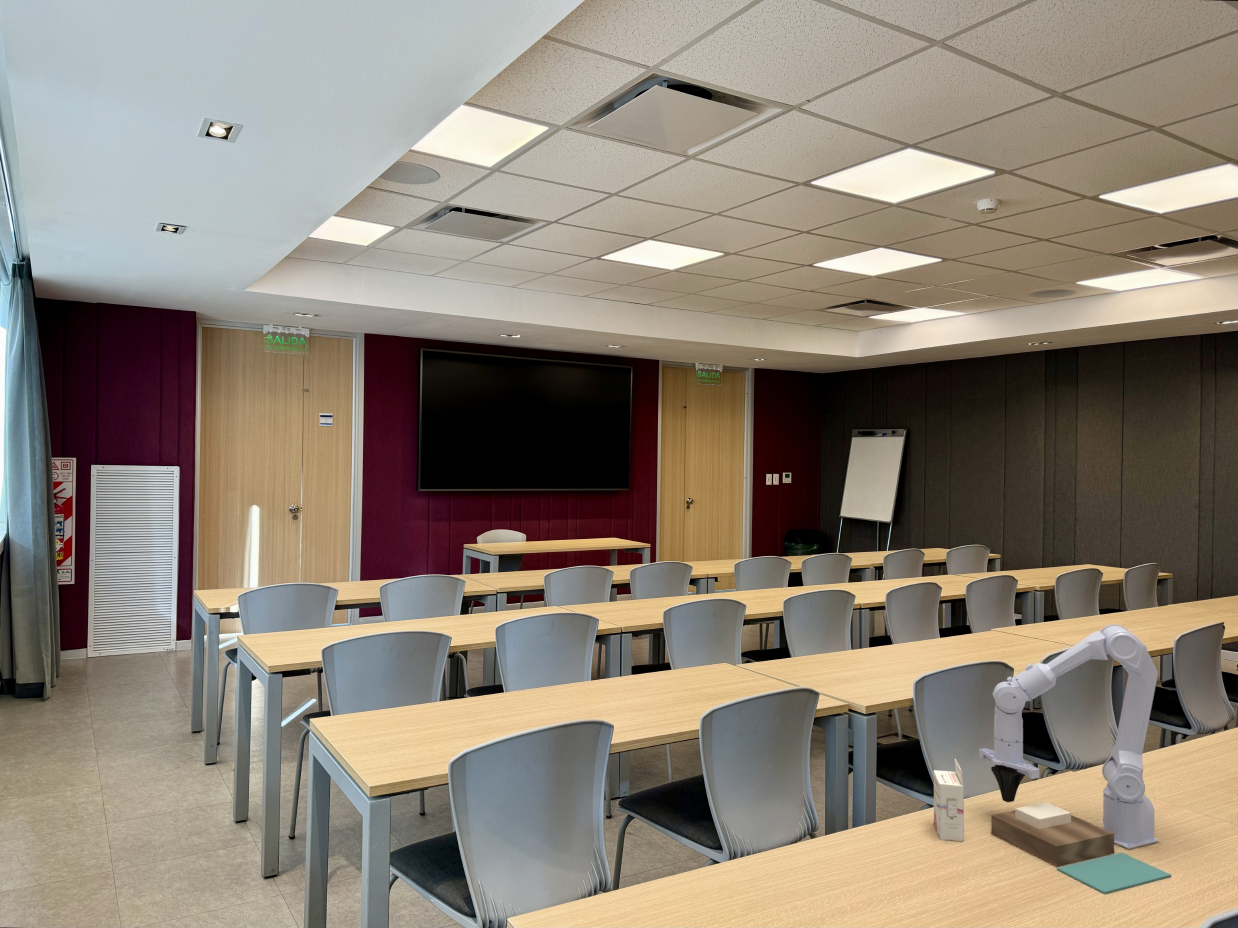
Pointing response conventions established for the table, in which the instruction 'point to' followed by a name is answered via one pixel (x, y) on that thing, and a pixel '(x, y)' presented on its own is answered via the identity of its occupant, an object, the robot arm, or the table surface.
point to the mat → (1113, 873)
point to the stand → (1055, 839)
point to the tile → (1043, 815)
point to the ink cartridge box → (949, 804)
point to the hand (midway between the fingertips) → (1008, 800)
